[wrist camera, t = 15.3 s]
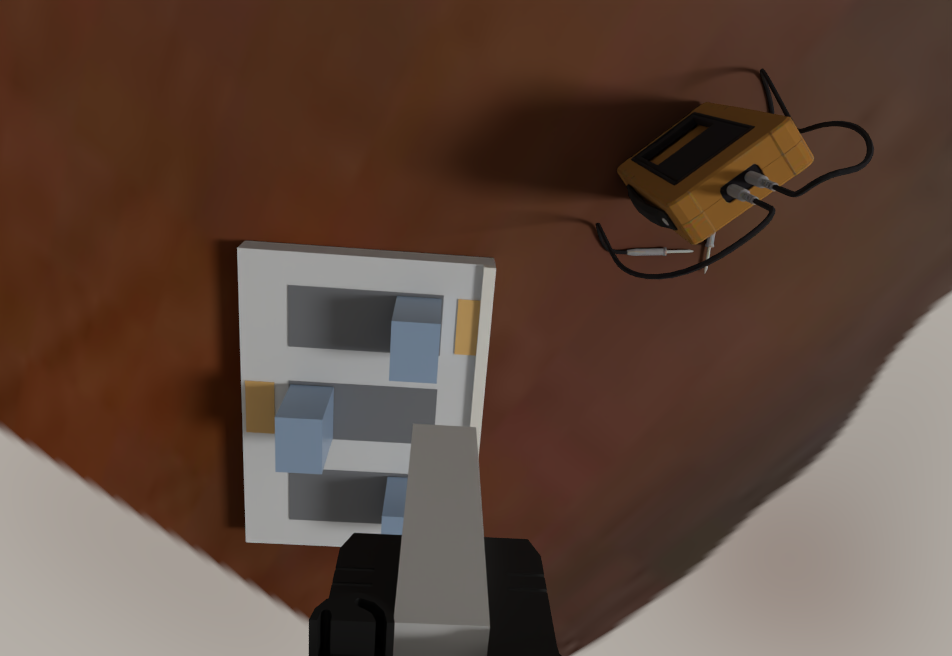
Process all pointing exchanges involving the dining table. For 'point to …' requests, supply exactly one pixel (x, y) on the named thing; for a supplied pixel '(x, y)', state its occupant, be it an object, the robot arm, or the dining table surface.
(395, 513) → the tab
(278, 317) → the switch bank
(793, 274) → the dining table surface
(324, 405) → the tab
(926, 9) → the dining table surface
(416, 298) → the tab
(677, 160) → the multimeter
